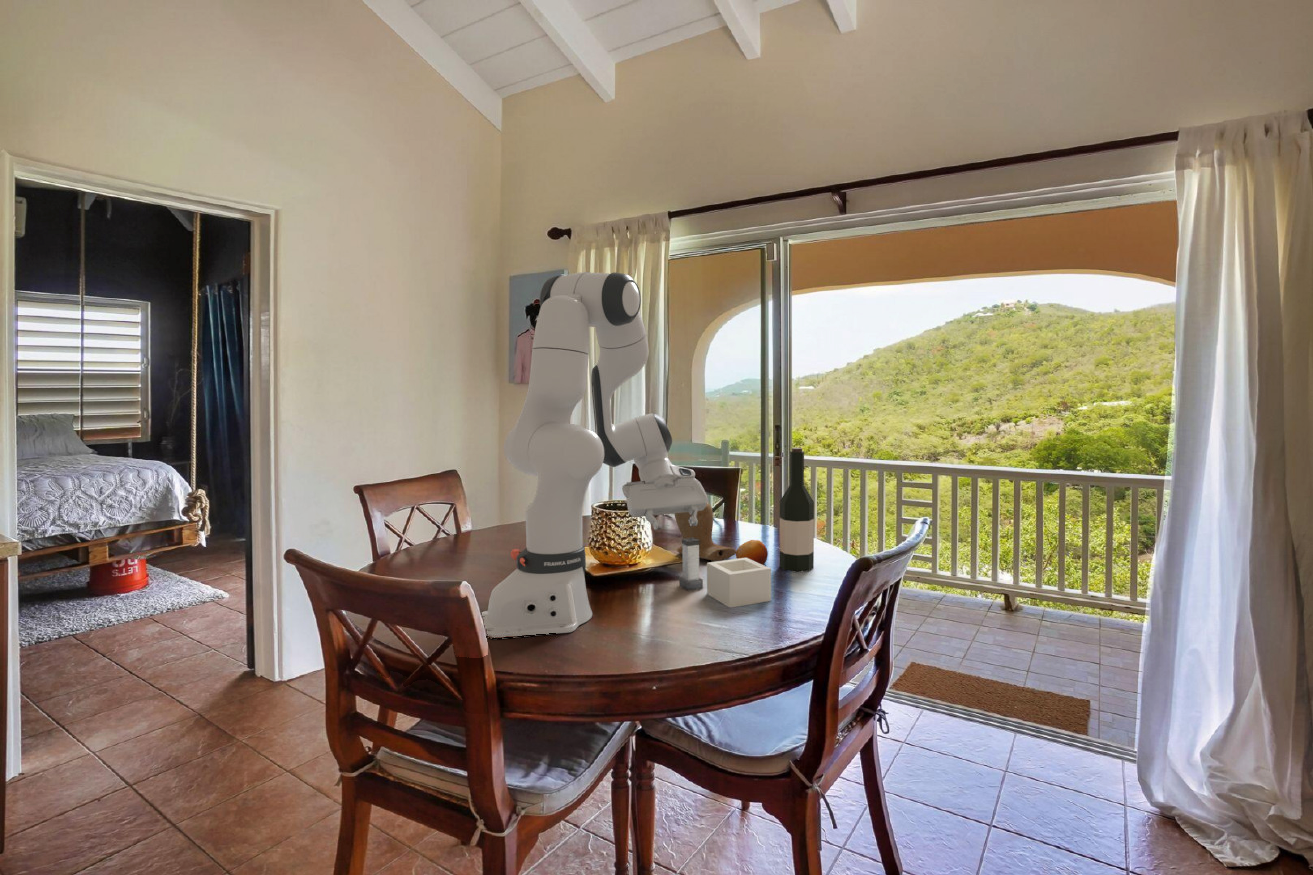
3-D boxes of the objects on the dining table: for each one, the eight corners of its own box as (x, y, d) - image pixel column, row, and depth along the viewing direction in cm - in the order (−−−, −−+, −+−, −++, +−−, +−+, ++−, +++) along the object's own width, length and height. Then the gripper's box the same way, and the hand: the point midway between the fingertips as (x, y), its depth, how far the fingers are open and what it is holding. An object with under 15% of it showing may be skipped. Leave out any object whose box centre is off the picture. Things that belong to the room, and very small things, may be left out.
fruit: (774, 566, 162) (757, 538, 162) (747, 582, 163) (730, 554, 164) (775, 558, 170) (759, 531, 170) (749, 572, 171) (732, 546, 172)
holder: (729, 607, 137) (729, 574, 137) (707, 593, 146) (706, 562, 146) (770, 600, 141) (770, 568, 140) (746, 587, 150) (746, 557, 150)
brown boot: (665, 556, 179) (665, 501, 178) (697, 548, 187) (697, 495, 185) (705, 567, 167) (704, 508, 166) (737, 559, 175) (737, 502, 174)
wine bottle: (820, 568, 165) (821, 448, 163) (796, 573, 161) (797, 450, 158) (796, 561, 172) (796, 446, 170) (772, 566, 167) (772, 448, 165)
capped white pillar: (686, 590, 149) (686, 542, 148) (679, 585, 152) (678, 538, 152) (702, 588, 150) (702, 540, 149) (694, 583, 154) (694, 536, 153)
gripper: (623, 475, 159) (639, 523, 151) (699, 469, 167) (718, 514, 159) (617, 491, 163) (632, 538, 155) (691, 484, 171) (709, 529, 163)
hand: (676, 526), depth 157 cm, fingers open, 8 cm apart
